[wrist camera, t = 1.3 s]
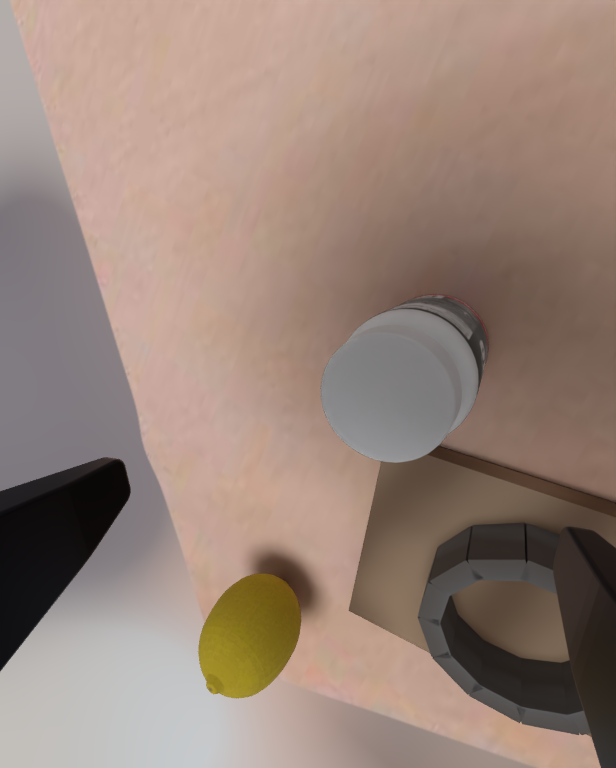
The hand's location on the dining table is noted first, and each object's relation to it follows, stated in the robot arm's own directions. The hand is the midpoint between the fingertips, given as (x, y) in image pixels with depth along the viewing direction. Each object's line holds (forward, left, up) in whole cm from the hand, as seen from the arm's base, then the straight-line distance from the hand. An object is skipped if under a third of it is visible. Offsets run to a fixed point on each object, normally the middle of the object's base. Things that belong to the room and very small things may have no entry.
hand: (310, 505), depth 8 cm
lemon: (+6, +18, -13) cm, 23 cm away
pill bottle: (0, -1, -13) cm, 13 cm away
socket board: (-7, +10, -13) cm, 18 cm away
